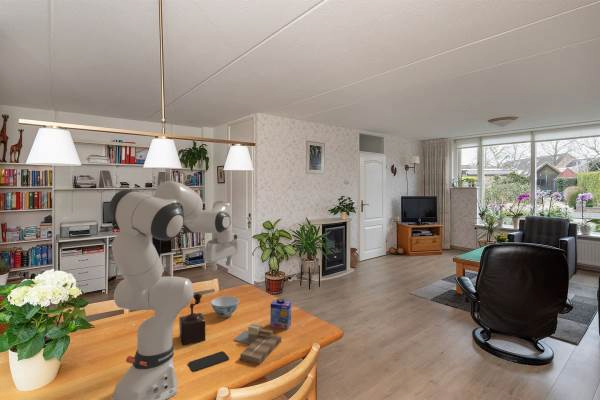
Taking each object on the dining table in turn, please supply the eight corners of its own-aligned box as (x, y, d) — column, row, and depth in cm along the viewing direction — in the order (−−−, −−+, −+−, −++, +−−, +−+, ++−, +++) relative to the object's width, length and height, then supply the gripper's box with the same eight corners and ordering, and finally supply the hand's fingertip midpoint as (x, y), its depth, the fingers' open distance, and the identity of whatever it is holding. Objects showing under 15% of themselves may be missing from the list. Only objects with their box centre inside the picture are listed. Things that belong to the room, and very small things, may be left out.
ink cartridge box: (269, 327, 152) (270, 299, 152) (272, 322, 158) (273, 295, 157) (288, 329, 150) (289, 300, 150) (291, 324, 156) (291, 297, 155)
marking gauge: (269, 344, 135) (269, 331, 135) (248, 339, 139) (248, 326, 139) (273, 340, 139) (273, 327, 138) (252, 335, 143) (252, 323, 142)
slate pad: (254, 345, 134) (254, 344, 134) (233, 340, 139) (233, 339, 139) (265, 335, 144) (265, 334, 144) (245, 331, 148) (245, 330, 148)
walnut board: (259, 364, 120) (259, 358, 120) (240, 359, 123) (240, 353, 123) (281, 341, 138) (281, 336, 138) (263, 337, 142) (264, 332, 142)
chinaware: (244, 314, 167) (244, 300, 167) (221, 323, 156) (221, 308, 156) (228, 307, 177) (228, 294, 177) (205, 314, 166) (205, 301, 166)
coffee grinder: (207, 340, 138) (207, 302, 138) (181, 346, 133) (181, 306, 132) (201, 326, 152) (201, 291, 151) (177, 331, 147) (177, 294, 146)
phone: (187, 362, 120) (223, 350, 129) (187, 364, 120) (223, 352, 129) (192, 371, 114) (230, 358, 123) (192, 373, 114) (230, 360, 123)
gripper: (212, 241, 125) (212, 274, 125) (240, 234, 144) (240, 263, 144) (200, 240, 127) (200, 272, 128) (229, 233, 146) (229, 262, 147)
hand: (221, 267), depth 136 cm, fingers open, 8 cm apart
